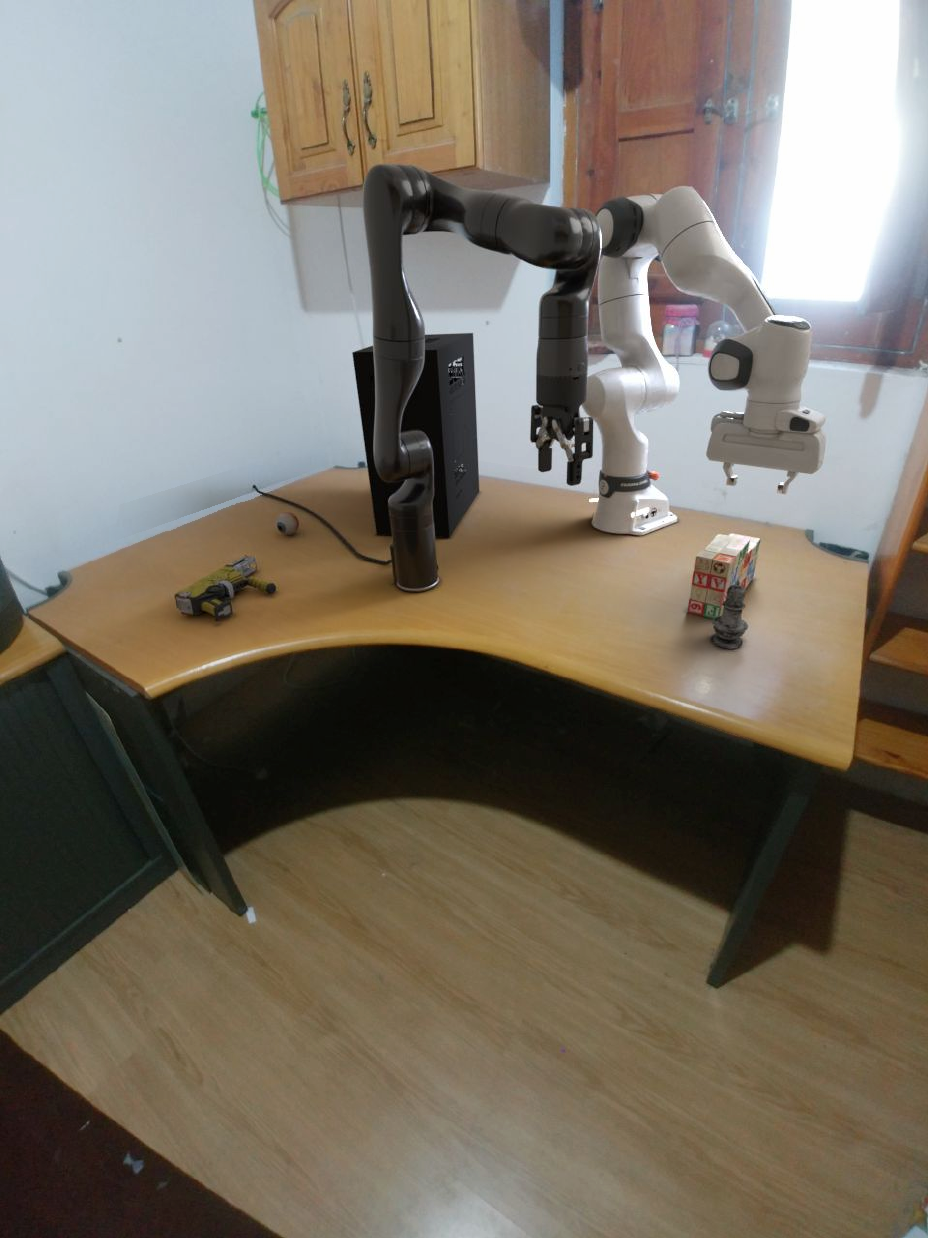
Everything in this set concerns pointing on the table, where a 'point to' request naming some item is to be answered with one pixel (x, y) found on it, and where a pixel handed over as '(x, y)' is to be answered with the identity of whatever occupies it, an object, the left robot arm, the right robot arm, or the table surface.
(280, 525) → the eyeball
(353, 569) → the table surface
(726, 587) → the stack of blocks
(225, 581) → the toy gun
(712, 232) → the right robot arm
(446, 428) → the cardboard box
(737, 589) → the grey chess piece
